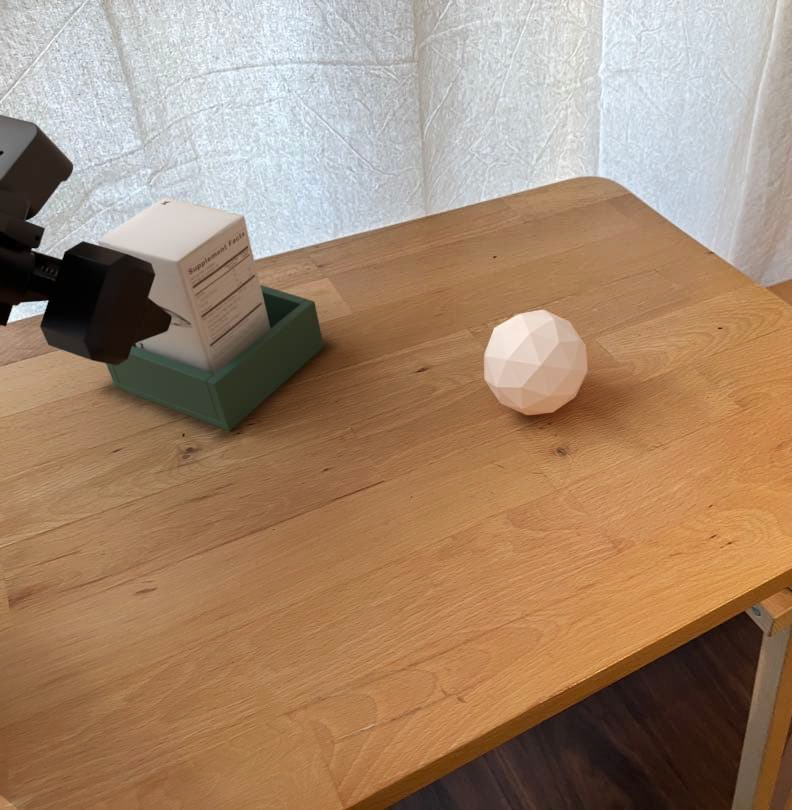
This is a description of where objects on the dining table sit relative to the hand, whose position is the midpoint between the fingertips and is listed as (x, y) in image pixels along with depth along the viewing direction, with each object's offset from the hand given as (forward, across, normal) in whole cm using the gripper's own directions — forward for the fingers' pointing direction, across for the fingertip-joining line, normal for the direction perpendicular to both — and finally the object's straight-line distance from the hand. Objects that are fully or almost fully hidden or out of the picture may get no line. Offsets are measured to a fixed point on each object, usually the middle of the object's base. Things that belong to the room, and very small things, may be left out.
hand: (116, 306), depth 60 cm
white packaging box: (+12, 0, +2) cm, 12 cm away
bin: (+12, 0, +2) cm, 12 cm away
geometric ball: (+17, -25, -3) cm, 30 cm away
